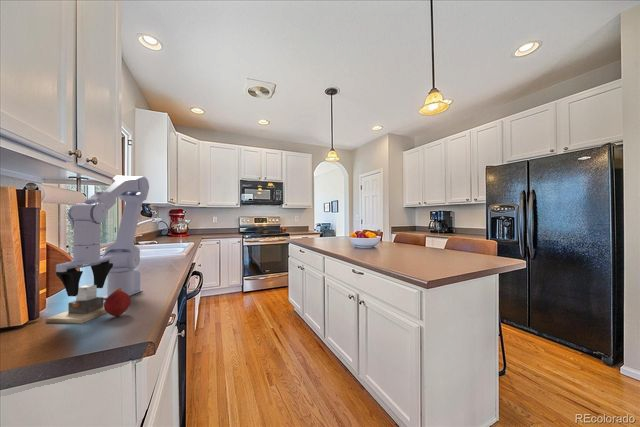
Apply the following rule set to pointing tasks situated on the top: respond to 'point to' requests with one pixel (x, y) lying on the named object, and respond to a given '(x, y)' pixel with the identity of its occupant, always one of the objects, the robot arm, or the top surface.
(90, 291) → the post
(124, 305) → the onion
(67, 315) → the stand
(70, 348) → the top surface
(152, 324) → the top surface
